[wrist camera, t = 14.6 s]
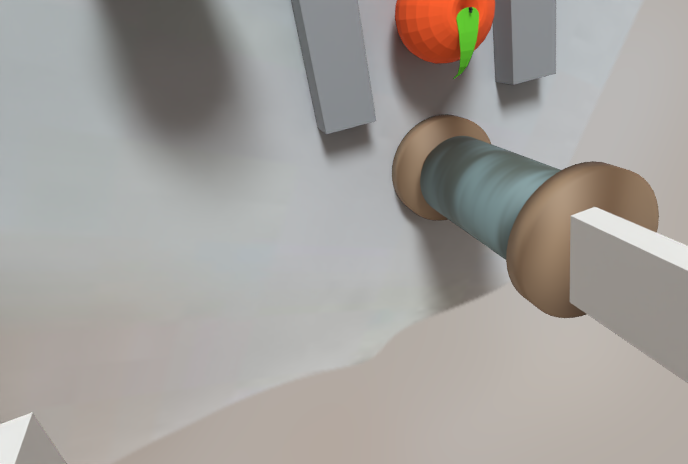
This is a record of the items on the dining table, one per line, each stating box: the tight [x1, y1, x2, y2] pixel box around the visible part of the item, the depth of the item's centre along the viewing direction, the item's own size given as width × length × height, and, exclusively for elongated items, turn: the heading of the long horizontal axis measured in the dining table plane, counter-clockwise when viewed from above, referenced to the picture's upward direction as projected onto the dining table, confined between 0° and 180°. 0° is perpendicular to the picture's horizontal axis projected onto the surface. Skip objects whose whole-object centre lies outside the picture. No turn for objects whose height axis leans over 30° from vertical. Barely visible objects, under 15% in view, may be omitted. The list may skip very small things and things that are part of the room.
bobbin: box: [392, 115, 659, 318], centre depth 35 cm, size 9×9×18 cm
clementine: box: [395, 0, 495, 79], centre depth 35 cm, size 8×7×7 cm
